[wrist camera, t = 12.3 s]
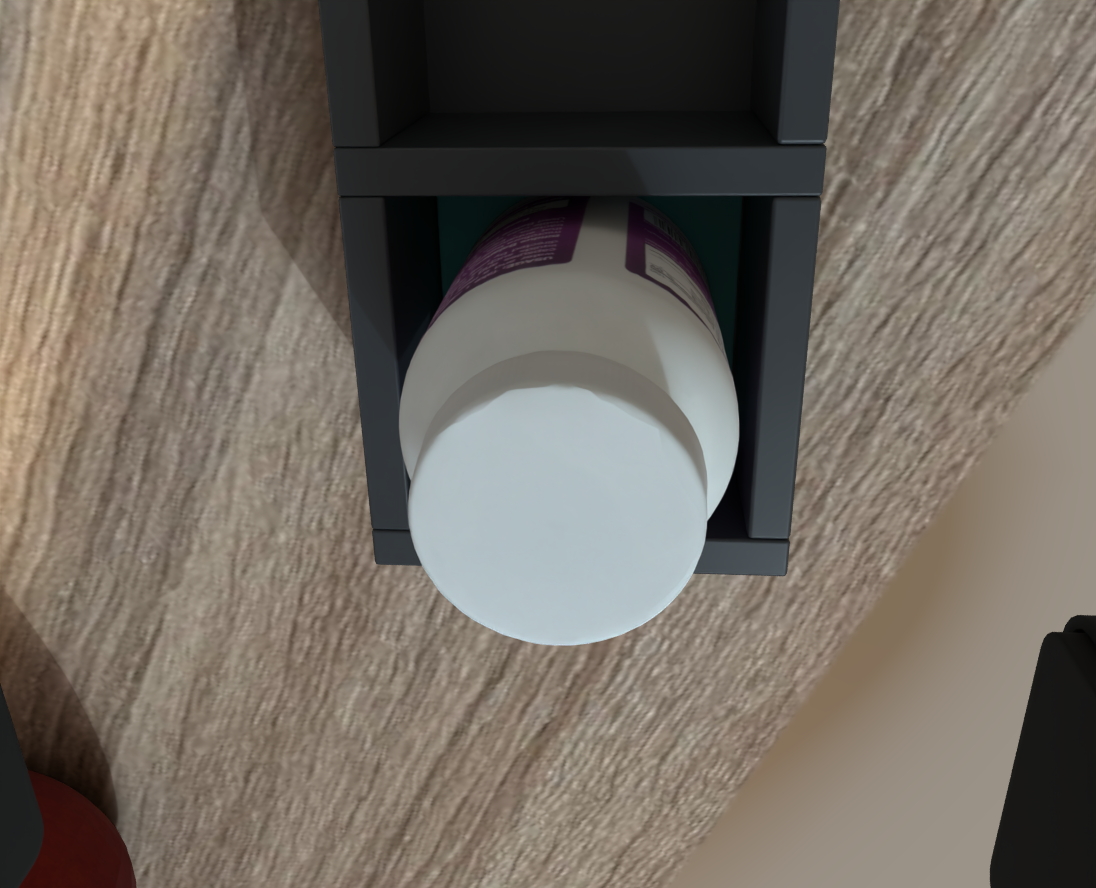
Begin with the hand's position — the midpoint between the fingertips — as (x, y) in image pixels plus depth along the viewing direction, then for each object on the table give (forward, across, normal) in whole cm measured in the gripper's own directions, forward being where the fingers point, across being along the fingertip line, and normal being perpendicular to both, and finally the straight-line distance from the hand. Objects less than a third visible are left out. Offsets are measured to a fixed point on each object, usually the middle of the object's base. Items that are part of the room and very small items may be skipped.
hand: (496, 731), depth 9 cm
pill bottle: (+14, 0, +1) cm, 14 cm away
